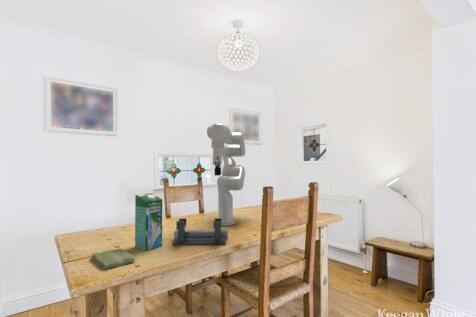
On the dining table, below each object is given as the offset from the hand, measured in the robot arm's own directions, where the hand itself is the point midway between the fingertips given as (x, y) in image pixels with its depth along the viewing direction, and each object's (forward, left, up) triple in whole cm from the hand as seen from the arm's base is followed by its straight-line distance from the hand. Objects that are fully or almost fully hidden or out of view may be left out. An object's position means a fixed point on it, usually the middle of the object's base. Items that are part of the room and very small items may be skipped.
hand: (217, 174), depth 152 cm
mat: (+12, -8, -33) cm, 36 cm away
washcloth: (+42, -41, -34) cm, 68 cm away
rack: (+20, -8, -33) cm, 40 cm away
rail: (+12, -8, -32) cm, 36 cm away
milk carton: (+24, -32, -34) cm, 52 cm away
